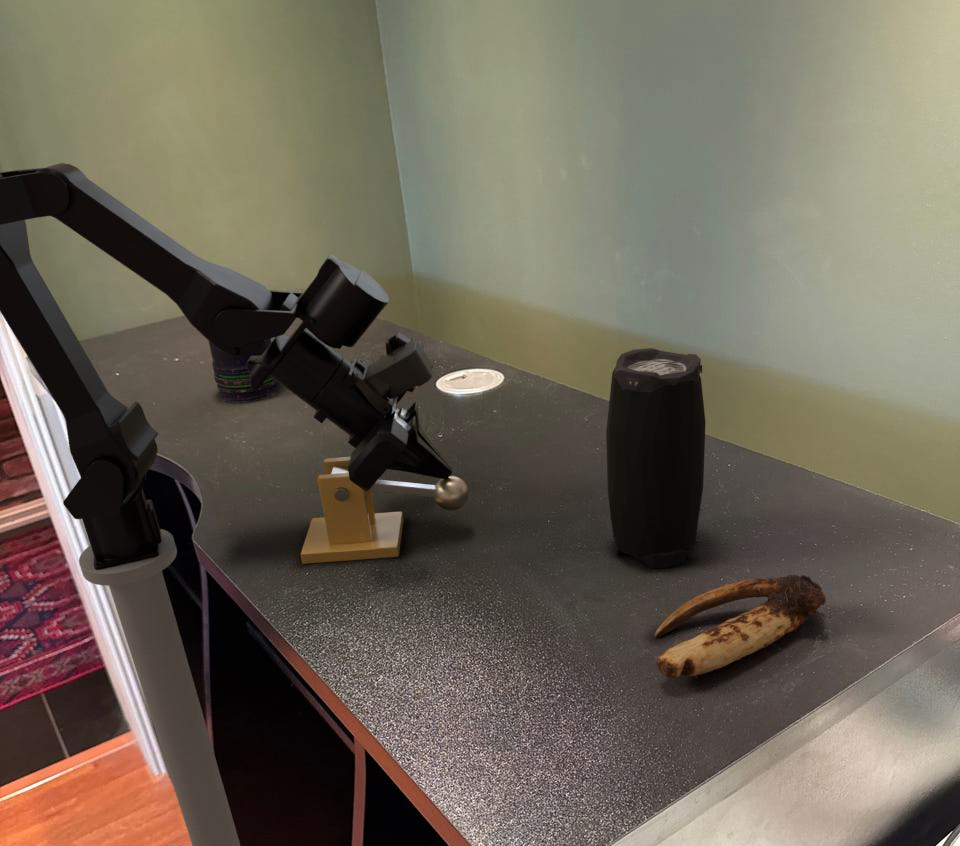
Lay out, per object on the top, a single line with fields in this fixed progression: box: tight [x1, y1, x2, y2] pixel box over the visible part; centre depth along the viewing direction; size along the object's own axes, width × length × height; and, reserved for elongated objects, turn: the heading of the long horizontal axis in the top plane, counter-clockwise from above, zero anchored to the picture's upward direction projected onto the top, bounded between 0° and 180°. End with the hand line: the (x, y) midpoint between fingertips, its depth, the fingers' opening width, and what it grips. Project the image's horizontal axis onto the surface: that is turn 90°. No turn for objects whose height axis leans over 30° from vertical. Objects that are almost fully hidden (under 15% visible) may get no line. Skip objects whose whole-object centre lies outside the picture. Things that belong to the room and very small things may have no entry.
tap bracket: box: [300, 456, 405, 565], centre depth 95 cm, size 10×8×9 cm
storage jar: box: [208, 338, 283, 404], centre depth 139 cm, size 10×10×18 cm
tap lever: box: [331, 467, 469, 511], centre depth 94 cm, size 14×4×4 cm, turn 91°
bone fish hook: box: [654, 574, 827, 679], centre depth 76 cm, size 9×5×18 cm
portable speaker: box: [605, 347, 706, 570], centre depth 86 cm, size 9×9×20 cm
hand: (449, 474), depth 94 cm, fingers closed
